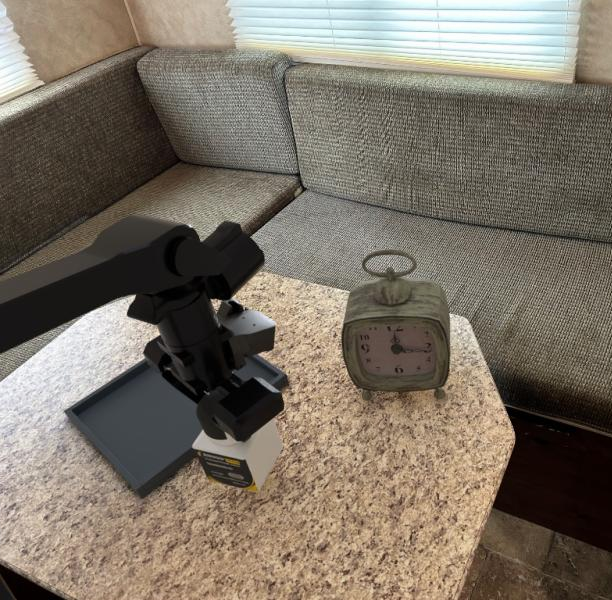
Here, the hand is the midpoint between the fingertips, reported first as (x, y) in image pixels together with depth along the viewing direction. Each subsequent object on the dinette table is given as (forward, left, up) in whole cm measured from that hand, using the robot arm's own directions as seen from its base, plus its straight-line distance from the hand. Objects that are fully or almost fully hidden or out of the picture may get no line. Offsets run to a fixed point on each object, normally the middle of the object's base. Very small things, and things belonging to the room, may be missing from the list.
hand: (230, 425), depth 72 cm
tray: (+2, +22, -13) cm, 25 cm away
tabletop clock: (+25, -4, -13) cm, 29 cm away
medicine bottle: (0, 0, -8) cm, 8 cm away
